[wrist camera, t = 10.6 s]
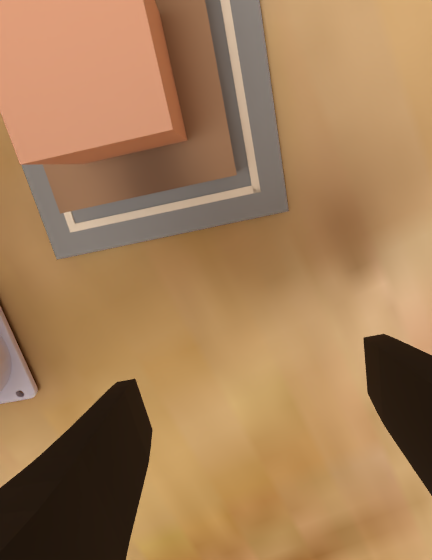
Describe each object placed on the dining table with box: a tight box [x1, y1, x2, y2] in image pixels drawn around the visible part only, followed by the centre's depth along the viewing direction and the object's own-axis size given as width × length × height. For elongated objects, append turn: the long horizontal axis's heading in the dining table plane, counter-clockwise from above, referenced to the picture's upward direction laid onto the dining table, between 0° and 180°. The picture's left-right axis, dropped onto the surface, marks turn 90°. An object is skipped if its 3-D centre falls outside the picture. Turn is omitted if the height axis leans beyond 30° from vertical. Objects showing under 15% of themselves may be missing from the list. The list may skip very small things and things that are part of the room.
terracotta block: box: [0, 0, 187, 165], centre depth 11 cm, size 4×4×5 cm
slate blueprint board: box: [22, 0, 289, 259], centre depth 17 cm, size 13×13×1 cm
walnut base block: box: [43, 0, 237, 214], centre depth 15 cm, size 8×8×3 cm
